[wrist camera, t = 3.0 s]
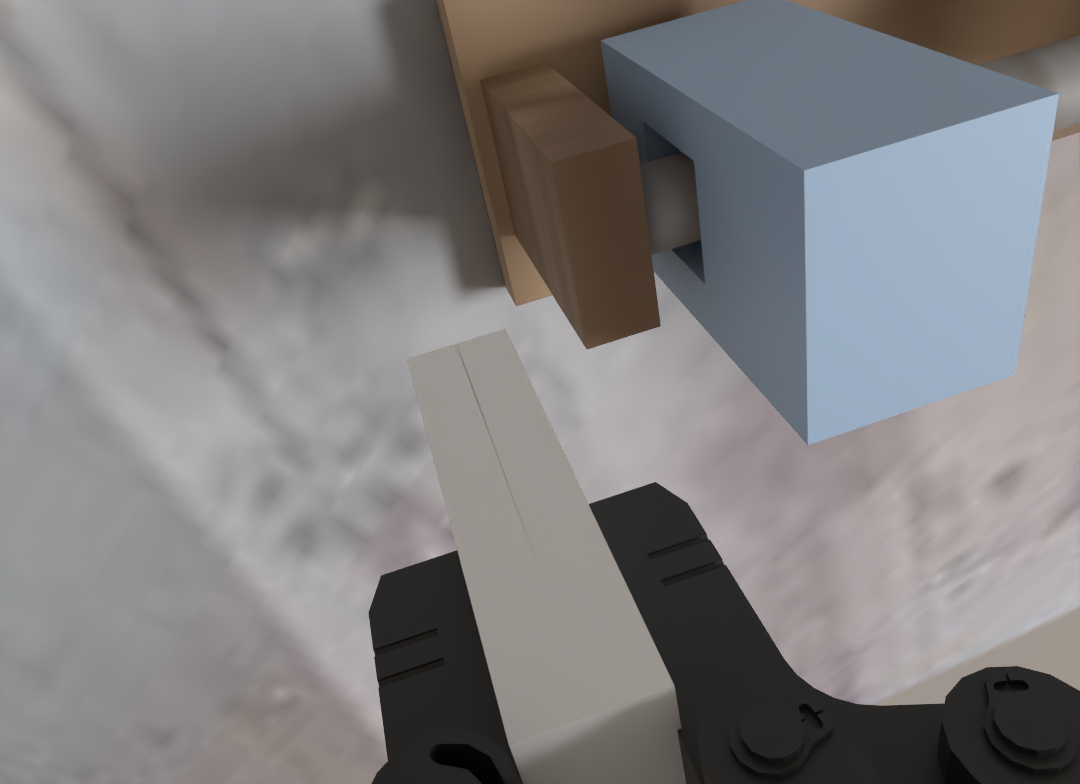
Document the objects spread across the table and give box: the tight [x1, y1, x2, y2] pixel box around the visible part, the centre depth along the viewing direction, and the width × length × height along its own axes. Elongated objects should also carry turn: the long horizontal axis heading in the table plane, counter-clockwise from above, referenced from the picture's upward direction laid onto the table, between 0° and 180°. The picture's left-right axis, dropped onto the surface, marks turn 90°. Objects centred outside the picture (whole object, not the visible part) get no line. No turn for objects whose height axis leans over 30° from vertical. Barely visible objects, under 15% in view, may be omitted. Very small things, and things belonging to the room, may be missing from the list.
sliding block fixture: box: [436, 0, 1080, 349], centre depth 19 cm, size 22×8×10 cm, turn 102°
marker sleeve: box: [601, 0, 1059, 445], centre depth 17 cm, size 4×5×9 cm
